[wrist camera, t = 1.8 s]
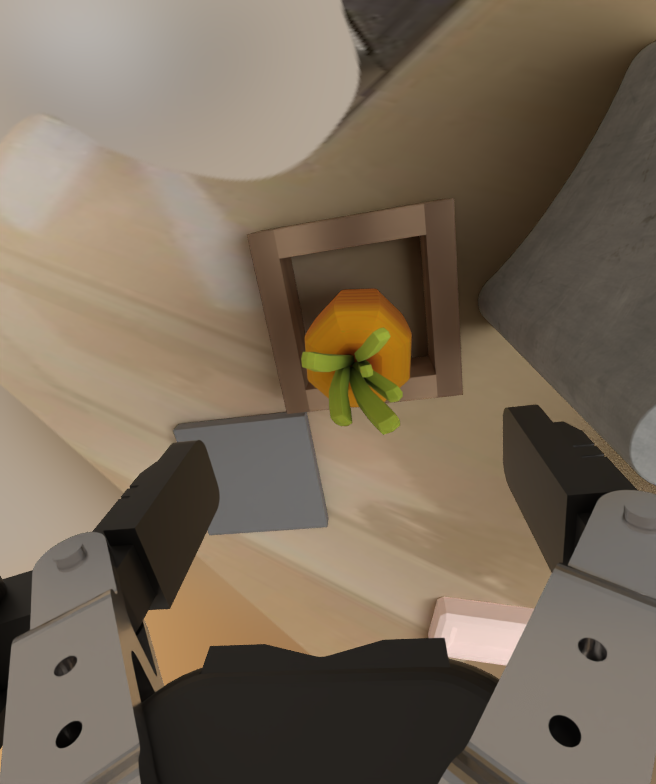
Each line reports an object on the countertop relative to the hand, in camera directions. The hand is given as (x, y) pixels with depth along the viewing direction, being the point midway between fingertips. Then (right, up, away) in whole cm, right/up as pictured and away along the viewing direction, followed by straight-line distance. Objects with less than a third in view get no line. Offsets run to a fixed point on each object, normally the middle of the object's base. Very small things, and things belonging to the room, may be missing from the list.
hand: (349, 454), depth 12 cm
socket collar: (+2, +7, +16) cm, 18 cm away
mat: (-6, -5, +22) cm, 24 cm away
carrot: (+2, +7, +17) cm, 18 cm away
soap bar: (+13, -19, +28) cm, 36 cm away
